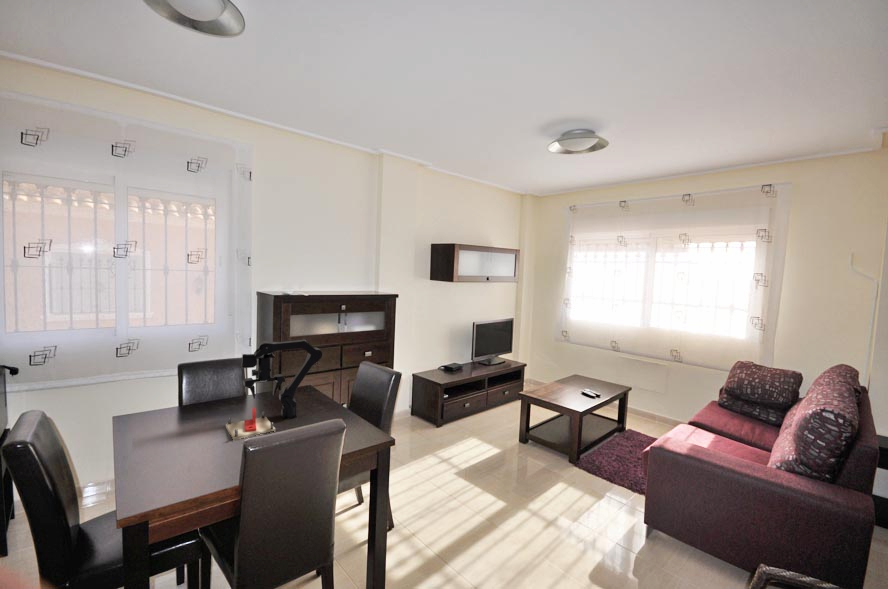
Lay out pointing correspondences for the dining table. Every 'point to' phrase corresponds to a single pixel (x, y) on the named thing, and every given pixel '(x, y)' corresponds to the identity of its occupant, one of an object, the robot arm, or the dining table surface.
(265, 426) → the peg board
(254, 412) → the bracket
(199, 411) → the dining table surface
